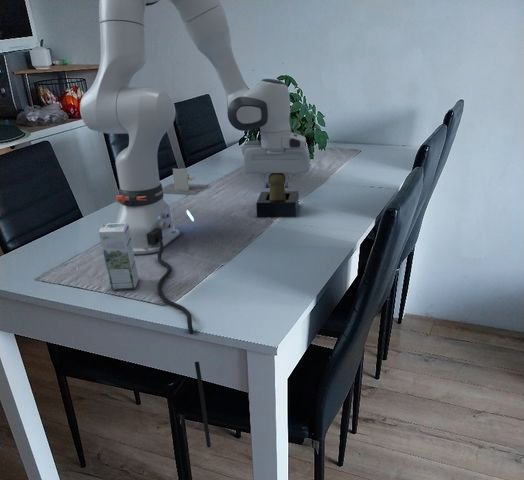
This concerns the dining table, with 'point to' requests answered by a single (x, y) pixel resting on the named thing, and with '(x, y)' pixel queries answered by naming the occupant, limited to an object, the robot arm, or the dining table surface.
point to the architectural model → (182, 183)
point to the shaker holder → (278, 205)
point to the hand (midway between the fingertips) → (277, 187)
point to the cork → (277, 186)
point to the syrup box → (119, 255)
